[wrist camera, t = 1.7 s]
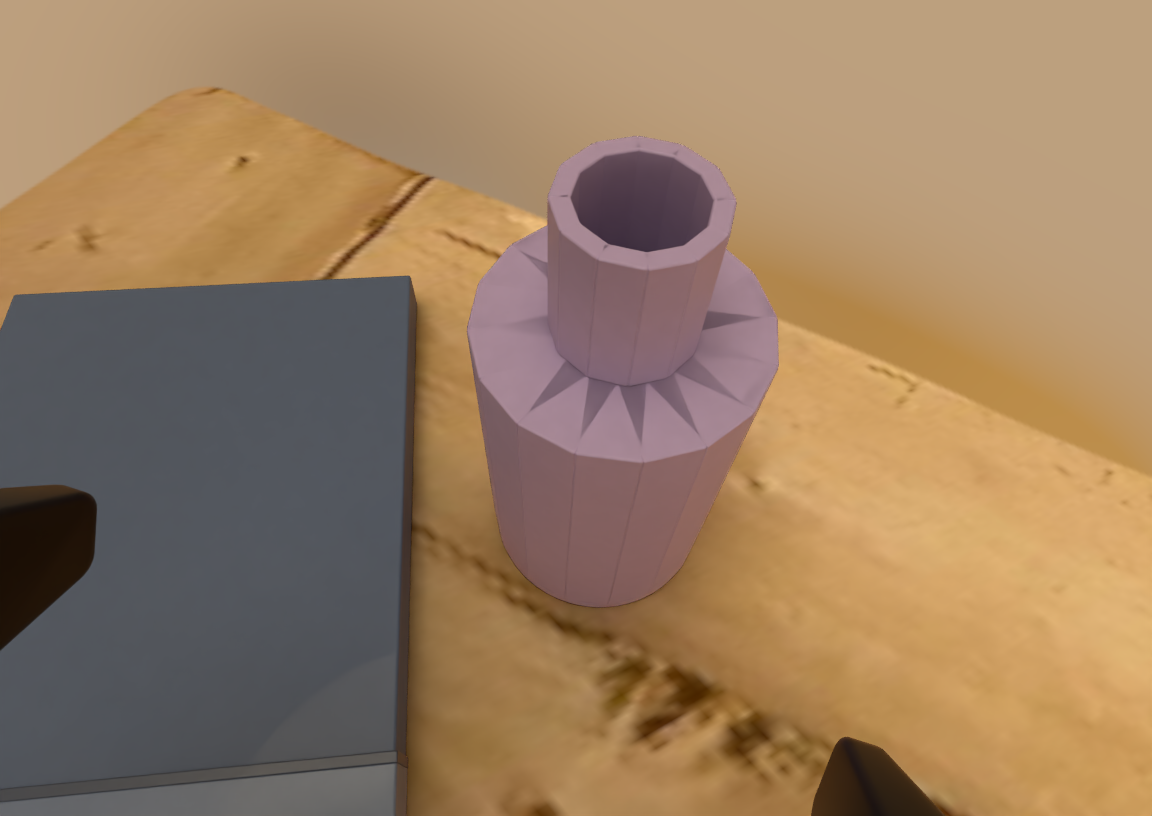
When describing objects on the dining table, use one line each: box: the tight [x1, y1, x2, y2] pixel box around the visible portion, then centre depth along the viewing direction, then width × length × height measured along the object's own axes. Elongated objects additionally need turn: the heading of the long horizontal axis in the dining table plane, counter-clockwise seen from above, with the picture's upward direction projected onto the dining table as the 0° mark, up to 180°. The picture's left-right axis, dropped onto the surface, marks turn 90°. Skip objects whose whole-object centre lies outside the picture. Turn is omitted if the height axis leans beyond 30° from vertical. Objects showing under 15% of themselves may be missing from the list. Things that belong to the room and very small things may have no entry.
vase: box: [467, 136, 779, 607], centre depth 18 cm, size 7×7×14 cm
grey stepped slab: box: [0, 276, 417, 816], centre depth 22 cm, size 20×14×2 cm
